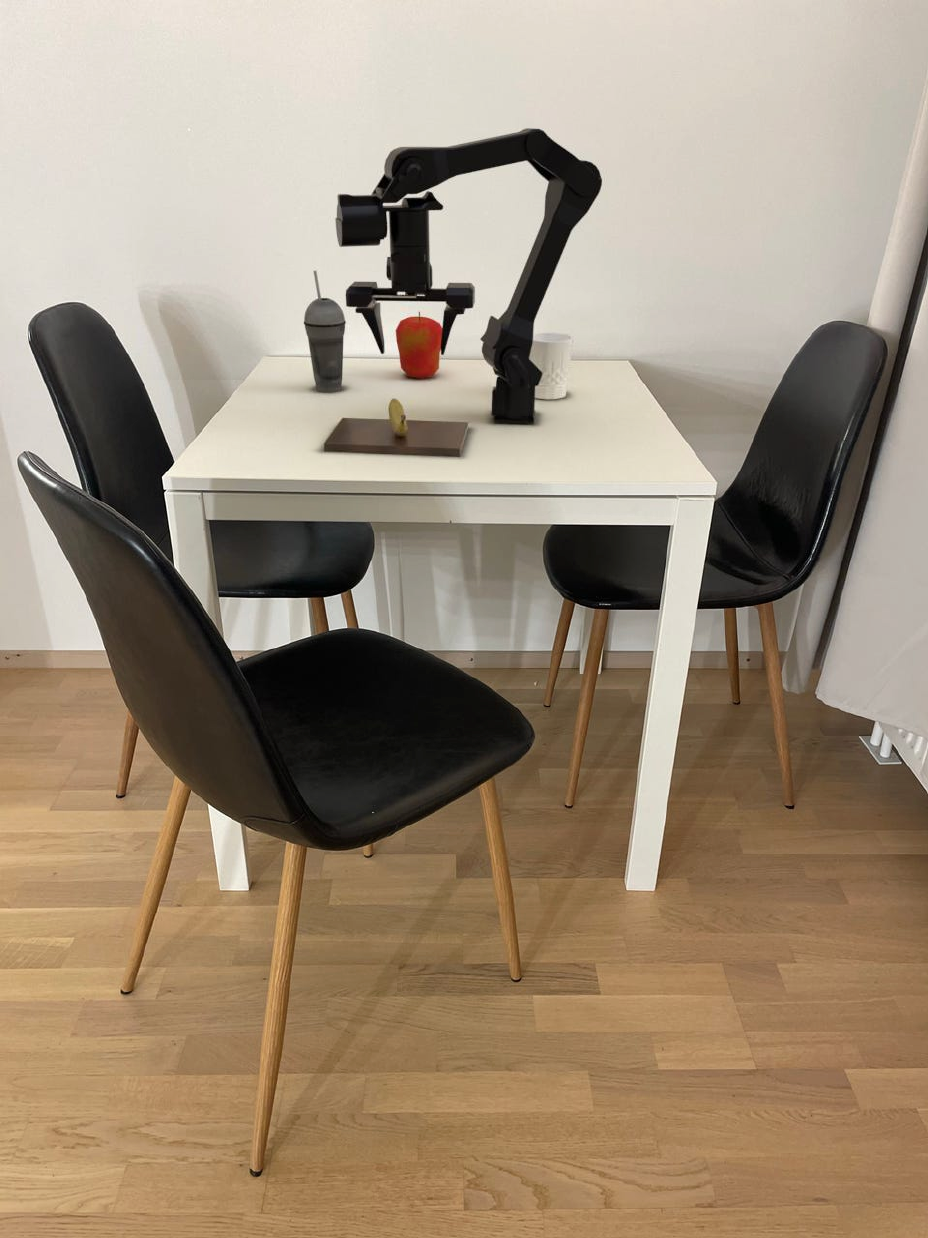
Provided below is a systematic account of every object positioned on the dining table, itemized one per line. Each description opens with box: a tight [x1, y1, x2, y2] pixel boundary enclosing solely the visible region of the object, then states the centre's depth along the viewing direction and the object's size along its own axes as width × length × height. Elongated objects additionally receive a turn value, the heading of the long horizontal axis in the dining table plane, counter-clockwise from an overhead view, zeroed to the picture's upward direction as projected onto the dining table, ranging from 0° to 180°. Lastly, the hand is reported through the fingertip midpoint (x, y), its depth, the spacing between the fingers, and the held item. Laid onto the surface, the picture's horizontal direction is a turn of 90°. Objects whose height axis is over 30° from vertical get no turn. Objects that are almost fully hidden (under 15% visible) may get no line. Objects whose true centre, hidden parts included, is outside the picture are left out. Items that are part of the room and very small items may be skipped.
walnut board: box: [323, 417, 469, 457], centre depth 140 cm, size 20×13×1 cm, turn 85°
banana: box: [388, 398, 408, 437], centre depth 139 cm, size 10×2×4 cm, turn 11°
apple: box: [395, 311, 442, 379], centre depth 171 cm, size 9×8×12 cm
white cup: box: [529, 331, 574, 400], centre depth 161 cm, size 8×8×10 cm
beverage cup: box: [303, 270, 347, 393], centre depth 161 cm, size 7×7×20 cm
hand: (412, 353), depth 141 cm, fingers open, 9 cm apart
